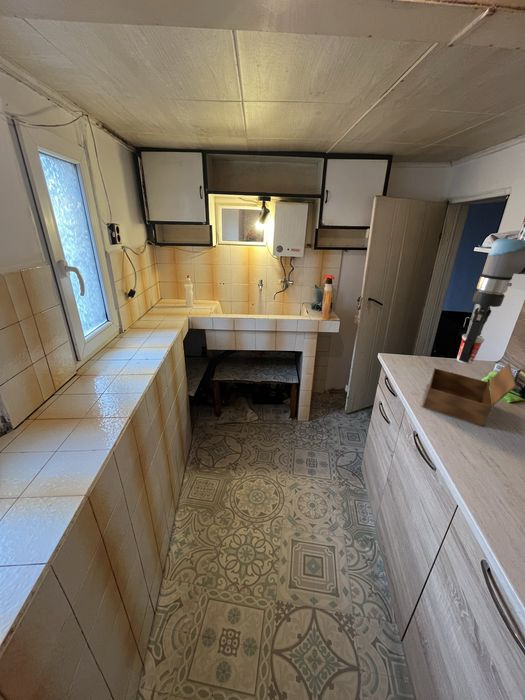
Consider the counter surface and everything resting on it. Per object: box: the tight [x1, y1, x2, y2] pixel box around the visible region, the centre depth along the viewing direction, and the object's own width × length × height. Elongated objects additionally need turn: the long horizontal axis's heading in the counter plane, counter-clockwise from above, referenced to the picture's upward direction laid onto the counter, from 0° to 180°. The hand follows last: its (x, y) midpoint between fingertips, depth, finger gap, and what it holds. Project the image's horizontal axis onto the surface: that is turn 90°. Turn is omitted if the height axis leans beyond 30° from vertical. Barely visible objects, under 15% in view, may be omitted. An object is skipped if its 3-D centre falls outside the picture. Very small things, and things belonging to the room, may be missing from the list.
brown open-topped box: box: [422, 367, 493, 427], centre depth 108 cm, size 19×20×8 cm
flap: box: [488, 362, 517, 406], centre depth 99 cm, size 9×20×1 cm
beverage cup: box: [456, 333, 485, 365], centre depth 95 cm, size 6×6×14 cm
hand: (465, 357), depth 97 cm, fingers closed on beverage cup, 6 cm apart
